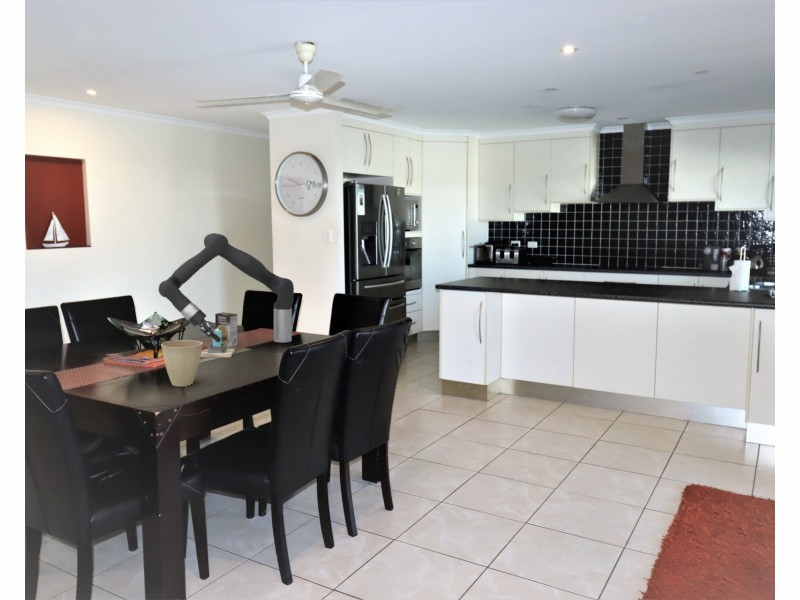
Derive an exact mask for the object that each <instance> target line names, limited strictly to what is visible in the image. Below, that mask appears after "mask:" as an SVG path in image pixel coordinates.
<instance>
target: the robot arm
mask: <svg viewBox="0 0 800 600" xmlns="http://www.w3.org/2000/svg"><path fill="white" fill-rule="evenodd" d="M203 244H204V248H203V249H202V250H200V252H198V253H197V254H196V255H194V256H192V257H191V258H189V259H188V260H186V261H184V262H183V263H182V264H181V265H180V266H179V267H178V268H177V269H175V270H174V271H173V273H172V274H171V275H170V276H169V277H168V278H167V279H166V280H163V281H161V282H160V283H159V285H158V293H159V295H160V296H161V297H163V298H165V299H167V300H168V301H169V302H170V303H171V305H172V306H173V307H174V308H175V309H176V310H177V311H178V312H179V313H180V314H181V315H182V316H183V317H184V318H185V320H187V321H188V322H189V324H191V325H192V326H193V327H197V326H199V327H200V328H199V330H200V331H201V332H203V333H204V334H205V335H206V336H207V337H209V338H212V340H213V339H214V340H215V341H216V342H219V341H220V340H221V338H220V337H219V336H217V335H216V334H215V332H214V330H215V329H216V328H215V325H214V324H213V323H212V322H211V321H210V320H206V319H205V318H207V314H206V313H205V312H204V311H203V310H202V309H201V308H199V307H198V306H197V304H196V303H193V302H192V301H191V300H190V299H189V298H188V297H187V296H186V295H184V293H183V292H182V291H181V290H180V288H181V287H182V286H183V285H184V284H185V283H187V282H188V281H189V280H190V279H191V278H192V277H193V276H194V275H195V274H196V273H198V271H200V269H201V270H202V268H203V267H204V266H206V265H207V264H208V263H210V262H211V261H212V260H214V259H215V258H217V257H218V256H219V257H220V258H223V259H224V260H226V261H227V262H228V263H230V264H231V265H232V266H234V267H235V268H236V269H238V270H239V271H240V272H242V273H243V274H245V275H247V276H248V277H249V278H252V279H253V280H256V282H260V283H261V284H263V285H264V286H266V288H267V289H269V290H270V291H271V292H272V293H273V294H275V295H277V299H276V301H275V302H274V303H273V342H274V343H291V342H292V340H293V339H292V336H293V335H292V334H293V330H292V329H293V326H292V325H293V323H292V321H293V320H292V319H293V313H292V312H293V303H294V297H295V296H294V295H295V294H294V292H295V290H294V289H295V287H294V286H295V285H294V282H293V281H292V280H291V279H289V278H287V277H281V276H279V275H277V274H275V273H274V272H271V271H270V270H268V268H267V267H266V266H265V264H263V263H262V262H261V261H260V260H259V259H257V257H255V256H253V255H251V254H250V253H248V252H245V251H243V250H242V249H238V248H236V247H234V246H233V245H231V244H230V243H229V240H228V238H227V237H226V236H225V235H223V234H220V233H215V232H213V233H209V234H207V235H205V236H204V238H203ZM222 338H223V337H222Z"/></svg>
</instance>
